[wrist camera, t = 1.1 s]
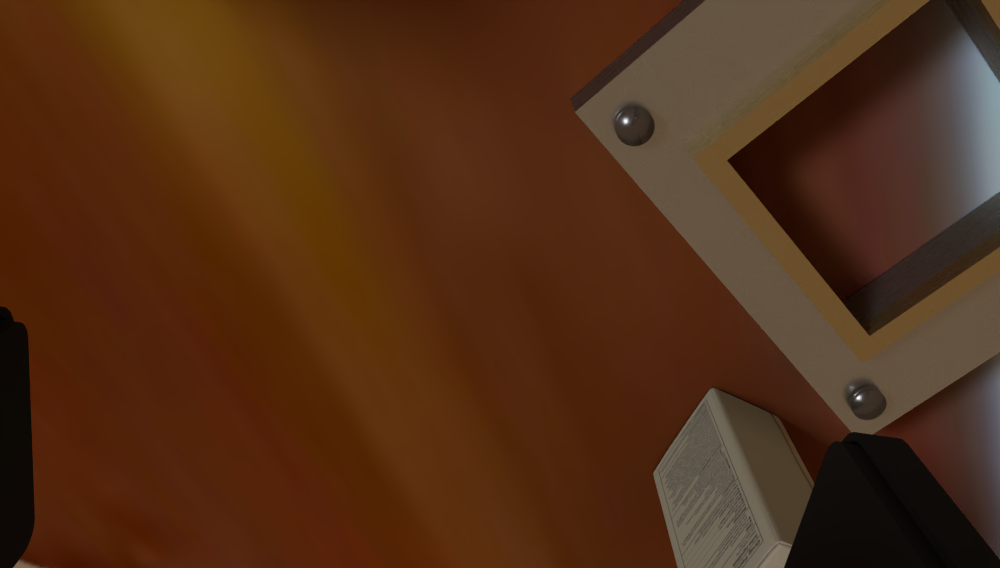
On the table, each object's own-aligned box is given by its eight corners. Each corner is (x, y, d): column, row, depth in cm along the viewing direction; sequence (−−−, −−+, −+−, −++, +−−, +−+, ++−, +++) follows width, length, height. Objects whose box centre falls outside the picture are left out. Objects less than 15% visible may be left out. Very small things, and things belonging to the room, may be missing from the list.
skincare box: (718, 500, 48) (783, 685, 37) (647, 471, 47) (692, 650, 36) (782, 412, 46) (873, 581, 35) (709, 379, 45) (778, 542, 34)
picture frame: (929, -212, 34) (973, -221, 31) (1174, 194, 41) (1232, 220, 37) (570, 98, 39) (576, 117, 36) (842, 414, 46) (868, 454, 42)
